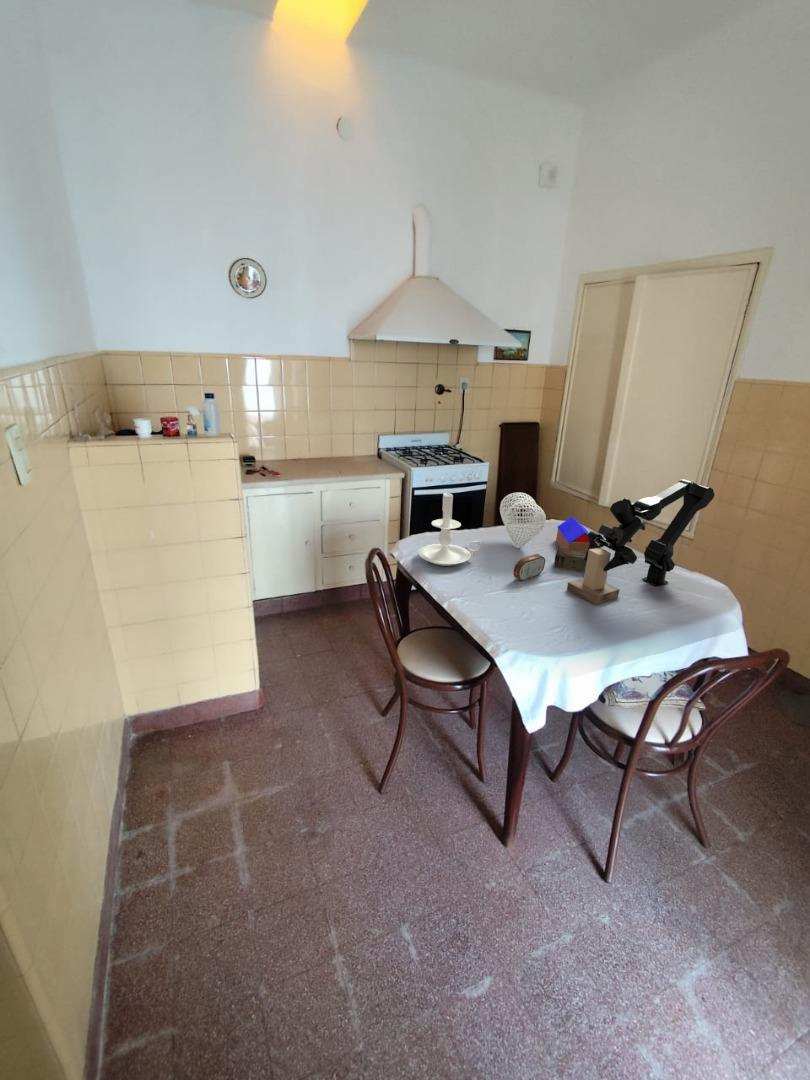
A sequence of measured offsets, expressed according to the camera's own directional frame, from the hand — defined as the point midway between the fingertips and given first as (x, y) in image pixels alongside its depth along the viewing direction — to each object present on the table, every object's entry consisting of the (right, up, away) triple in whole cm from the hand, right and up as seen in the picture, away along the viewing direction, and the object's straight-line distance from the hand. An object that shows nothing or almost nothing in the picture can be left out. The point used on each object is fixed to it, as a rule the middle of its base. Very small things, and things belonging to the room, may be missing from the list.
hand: (594, 565), depth 167 cm
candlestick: (-47, 0, +28) cm, 55 cm away
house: (+8, +4, +43) cm, 44 cm away
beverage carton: (+4, -3, +25) cm, 25 cm away
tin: (-18, -6, +16) cm, 25 cm away
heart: (-16, +5, +42) cm, 46 cm away
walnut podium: (+1, -10, +5) cm, 11 cm away
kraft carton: (+1, -7, +3) cm, 8 cm away
